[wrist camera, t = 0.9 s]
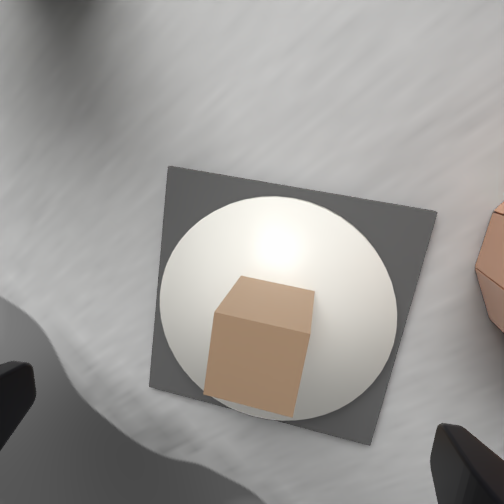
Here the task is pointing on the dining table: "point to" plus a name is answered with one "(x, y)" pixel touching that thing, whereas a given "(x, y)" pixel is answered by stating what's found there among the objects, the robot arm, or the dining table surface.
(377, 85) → the dining table surface
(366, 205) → the mat
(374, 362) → the lid
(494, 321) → the faceted tan prism
